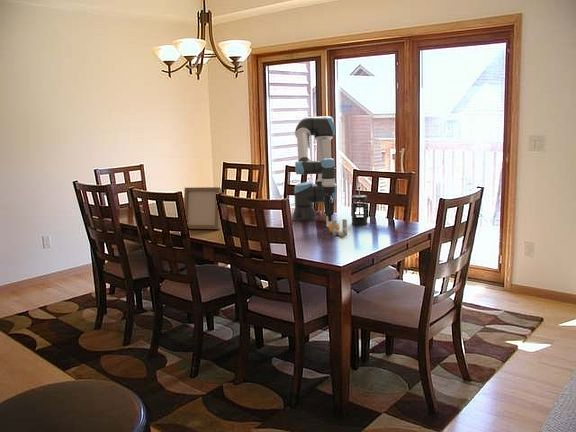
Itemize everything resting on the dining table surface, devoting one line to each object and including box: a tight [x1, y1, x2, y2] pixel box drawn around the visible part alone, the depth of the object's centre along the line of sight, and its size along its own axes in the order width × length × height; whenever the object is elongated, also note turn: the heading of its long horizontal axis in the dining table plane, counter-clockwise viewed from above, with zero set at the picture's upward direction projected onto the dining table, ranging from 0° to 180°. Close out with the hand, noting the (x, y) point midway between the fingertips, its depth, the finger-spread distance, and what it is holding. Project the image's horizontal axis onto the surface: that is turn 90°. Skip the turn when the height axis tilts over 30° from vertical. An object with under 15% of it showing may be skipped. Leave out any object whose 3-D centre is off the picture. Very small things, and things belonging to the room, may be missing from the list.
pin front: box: [337, 230, 346, 238], centre depth 303 cm, size 2×2×8 cm
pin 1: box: [331, 219, 338, 237], centre depth 303 cm, size 2×2×8 cm
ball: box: [328, 222, 340, 233], centre depth 311 cm, size 6×6×6 cm
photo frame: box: [183, 186, 222, 230], centre depth 335 cm, size 15×22×25 cm
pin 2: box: [341, 218, 348, 236], centre depth 304 cm, size 2×2×8 cm
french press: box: [351, 185, 369, 226], centre depth 331 cm, size 12×9×23 cm
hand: (329, 226), depth 319 cm, fingers closed
